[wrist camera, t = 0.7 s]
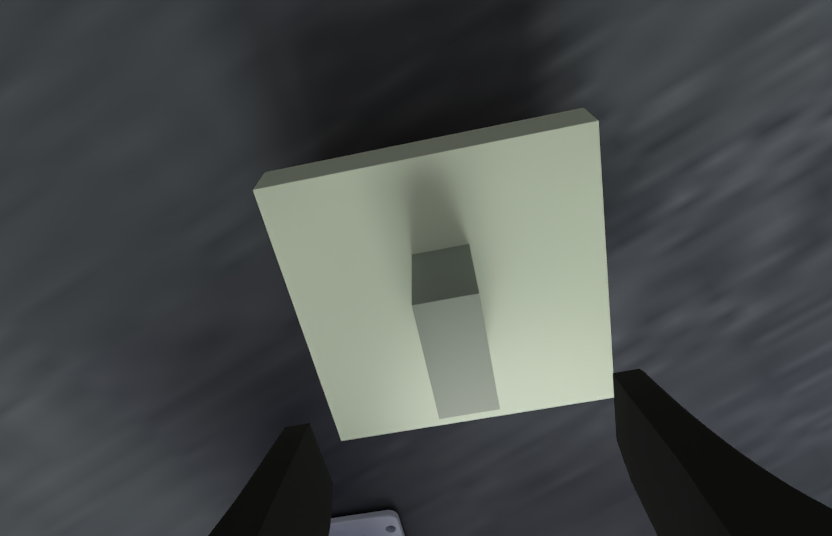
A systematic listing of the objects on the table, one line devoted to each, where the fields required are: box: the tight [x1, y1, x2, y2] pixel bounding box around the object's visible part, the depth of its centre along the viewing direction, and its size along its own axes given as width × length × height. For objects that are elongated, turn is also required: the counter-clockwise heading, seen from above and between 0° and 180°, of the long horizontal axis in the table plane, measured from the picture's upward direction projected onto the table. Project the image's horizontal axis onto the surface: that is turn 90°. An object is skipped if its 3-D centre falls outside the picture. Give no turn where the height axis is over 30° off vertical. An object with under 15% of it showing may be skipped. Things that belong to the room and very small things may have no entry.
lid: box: [253, 108, 614, 441], centre depth 18 cm, size 10×10×5 cm
